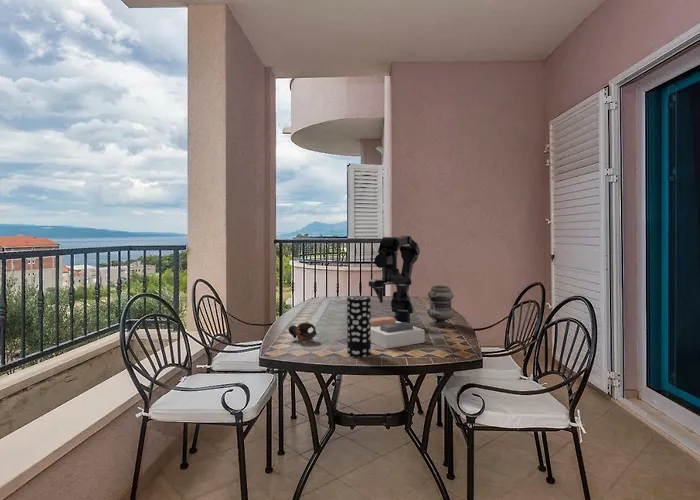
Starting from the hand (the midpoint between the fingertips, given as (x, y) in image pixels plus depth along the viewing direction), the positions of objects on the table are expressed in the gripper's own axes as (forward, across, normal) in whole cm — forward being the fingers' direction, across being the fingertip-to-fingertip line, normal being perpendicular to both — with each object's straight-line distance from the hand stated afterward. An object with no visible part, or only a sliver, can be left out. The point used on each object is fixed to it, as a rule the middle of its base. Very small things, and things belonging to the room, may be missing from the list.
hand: (390, 302), depth 184 cm
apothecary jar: (+13, +28, 0) cm, 31 cm away
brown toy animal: (+13, -39, +5) cm, 41 cm away
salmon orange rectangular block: (+10, -7, -3) cm, 13 cm away
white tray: (+13, -7, -9) cm, 17 cm away
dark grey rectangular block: (+10, -7, -15) cm, 19 cm away
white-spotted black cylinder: (+13, -28, -22) cm, 38 cm away
